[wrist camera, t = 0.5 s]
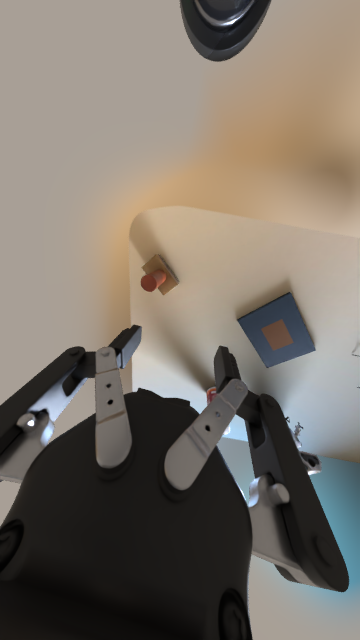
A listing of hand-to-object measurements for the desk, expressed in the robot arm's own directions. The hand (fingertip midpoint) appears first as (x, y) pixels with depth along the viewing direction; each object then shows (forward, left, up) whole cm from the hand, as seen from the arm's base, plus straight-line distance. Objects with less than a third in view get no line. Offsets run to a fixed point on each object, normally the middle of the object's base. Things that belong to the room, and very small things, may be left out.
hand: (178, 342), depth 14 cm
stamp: (-6, -2, -20) cm, 21 cm away
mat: (+22, +12, -20) cm, 32 cm away
